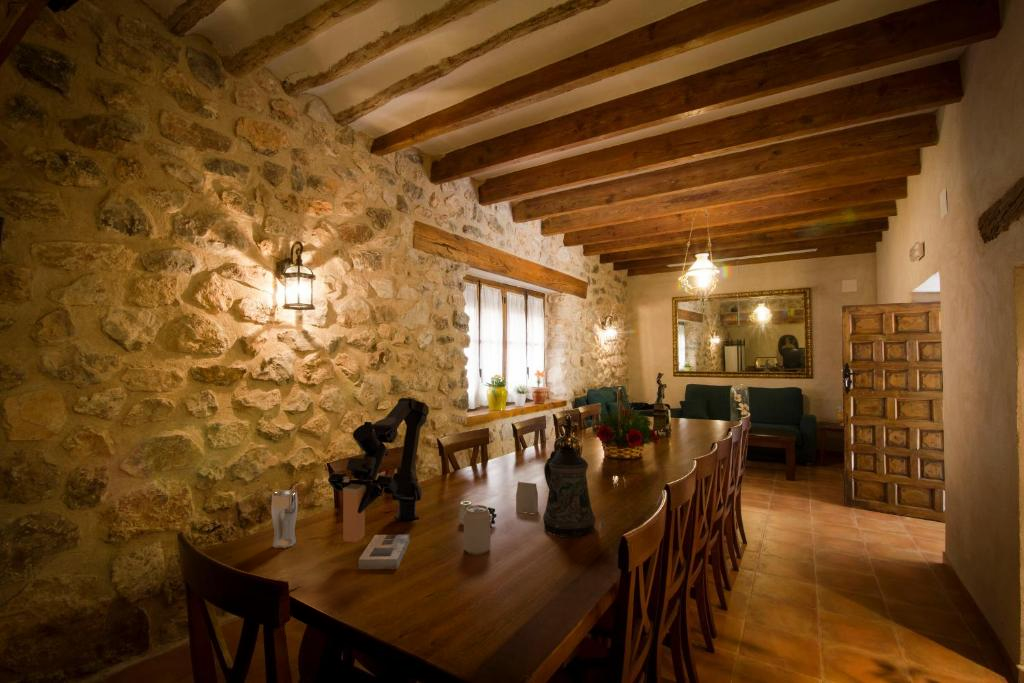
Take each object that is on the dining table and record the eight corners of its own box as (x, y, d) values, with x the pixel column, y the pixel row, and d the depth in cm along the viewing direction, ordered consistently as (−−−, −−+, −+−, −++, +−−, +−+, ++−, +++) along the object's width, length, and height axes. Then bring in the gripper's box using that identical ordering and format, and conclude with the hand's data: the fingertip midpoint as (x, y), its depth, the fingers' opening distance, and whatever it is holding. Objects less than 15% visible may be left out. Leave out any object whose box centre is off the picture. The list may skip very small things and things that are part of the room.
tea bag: (534, 514, 166) (534, 485, 166) (516, 511, 169) (516, 483, 169) (537, 511, 170) (537, 482, 170) (520, 508, 172) (520, 480, 172)
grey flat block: (374, 543, 141) (374, 534, 141) (409, 543, 142) (409, 534, 142) (358, 569, 125) (358, 559, 125) (397, 568, 125) (397, 558, 125)
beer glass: (302, 541, 143) (303, 490, 143) (284, 551, 136) (285, 497, 136) (284, 538, 145) (284, 488, 145) (265, 547, 138) (265, 495, 139)
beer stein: (582, 542, 142) (582, 457, 142) (525, 529, 152) (525, 450, 153) (603, 525, 156) (603, 447, 156) (549, 514, 166) (549, 441, 167)
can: (469, 558, 131) (469, 513, 132) (459, 548, 138) (459, 505, 138) (494, 552, 135) (494, 509, 135) (483, 543, 142) (483, 502, 142)
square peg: (351, 535, 132) (351, 484, 133) (364, 536, 132) (364, 484, 132) (342, 541, 128) (343, 488, 129) (357, 542, 128) (357, 489, 128)
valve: (454, 524, 157) (485, 532, 150) (454, 504, 157) (485, 510, 150) (466, 518, 162) (496, 525, 156) (466, 499, 162) (496, 505, 156)
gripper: (331, 443, 136) (307, 494, 125) (392, 446, 132) (373, 499, 121) (346, 465, 144) (324, 515, 133) (405, 468, 140) (387, 520, 129)
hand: (351, 512), depth 129 cm, fingers closed on square peg, 4 cm apart
